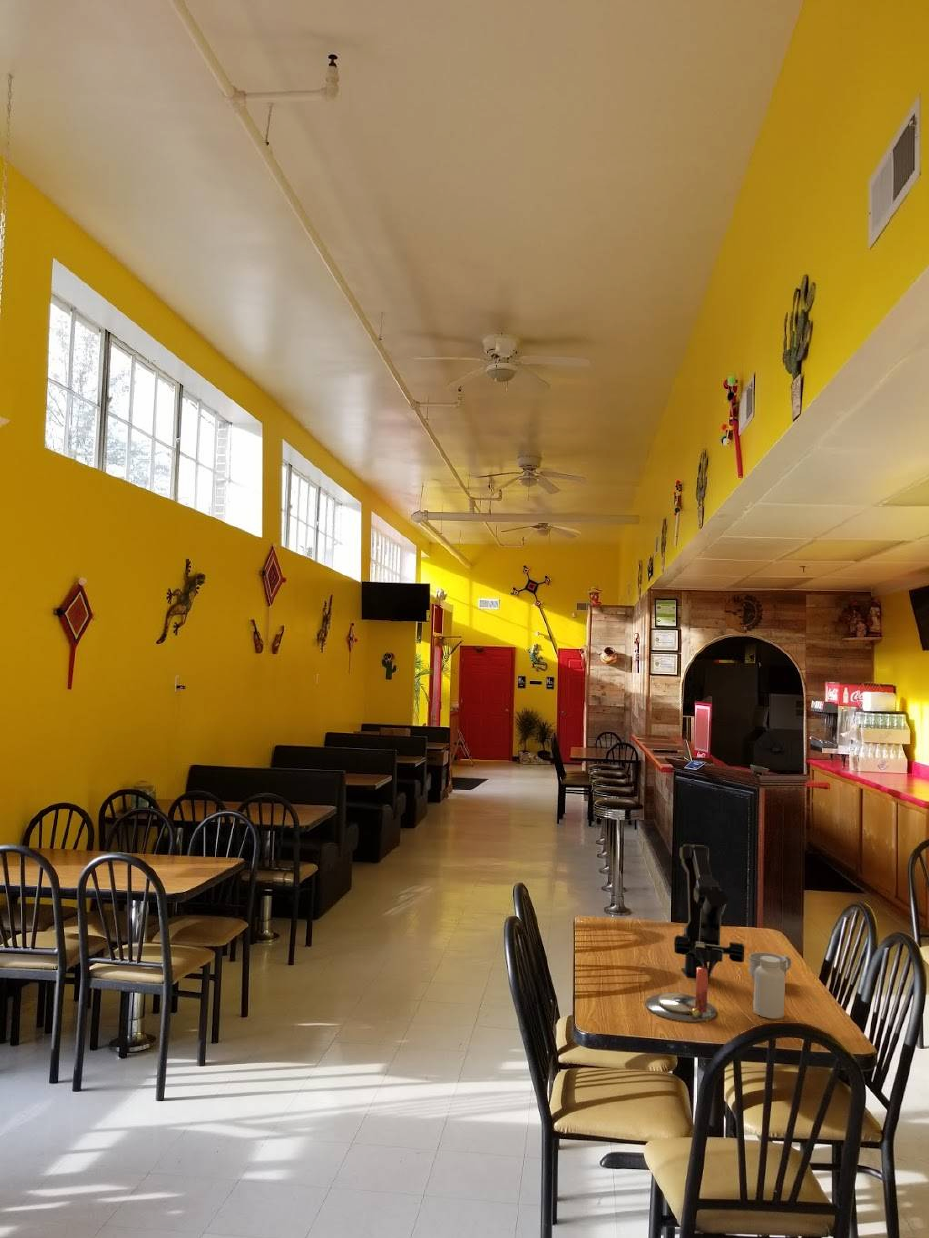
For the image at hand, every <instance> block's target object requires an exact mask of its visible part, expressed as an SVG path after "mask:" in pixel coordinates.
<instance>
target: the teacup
mask: <svg viewBox="0 0 929 1238" xmlns="http://www.w3.org/2000/svg"><path fill="white" fill-rule="evenodd" d="M762 956H772V957H776V958H778V959H780V961H781V962H780V969H781V970H782V971H783V972H784V974H785V979H786V977H787V972H788V971H789V969H790V968H791V966H792V959H791V958H790V956H788V955H779V954H776V953H770V952H753V953H750V954H748V959H749V974H750V976H751V978H752V979H753V981H754V980H755V970H756V968H757V967H758V966H761V965H760V958H761V957H762Z"/></svg>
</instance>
